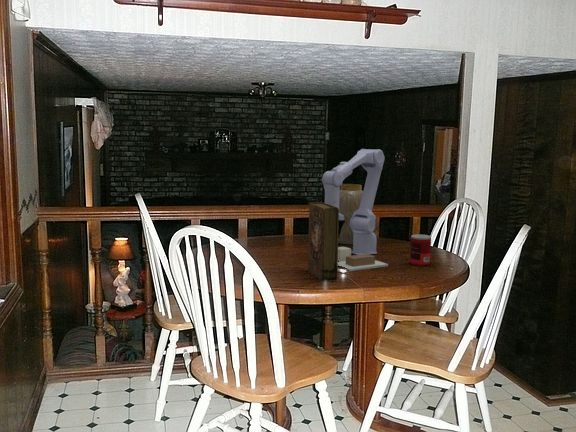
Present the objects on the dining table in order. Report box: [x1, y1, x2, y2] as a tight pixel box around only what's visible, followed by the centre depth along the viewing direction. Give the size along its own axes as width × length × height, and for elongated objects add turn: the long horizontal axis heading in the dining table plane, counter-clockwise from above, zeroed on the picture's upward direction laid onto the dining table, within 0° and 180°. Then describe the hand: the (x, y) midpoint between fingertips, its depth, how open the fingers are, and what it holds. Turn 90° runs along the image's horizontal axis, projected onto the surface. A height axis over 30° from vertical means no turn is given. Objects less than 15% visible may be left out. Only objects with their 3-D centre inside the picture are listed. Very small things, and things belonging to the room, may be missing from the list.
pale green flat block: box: [338, 254, 389, 272], centre depth 211 cm, size 18×12×4 cm, turn 119°
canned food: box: [409, 234, 432, 267], centre depth 215 cm, size 8×8×11 cm
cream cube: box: [338, 246, 352, 262], centre depth 220 cm, size 5×5×5 cm
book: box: [307, 201, 339, 281], centre depth 194 cm, size 16×6×25 cm, turn 17°
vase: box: [338, 183, 368, 246], centre depth 256 cm, size 17×17×27 cm
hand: (331, 235), depth 219 cm, fingers open, 7 cm apart
